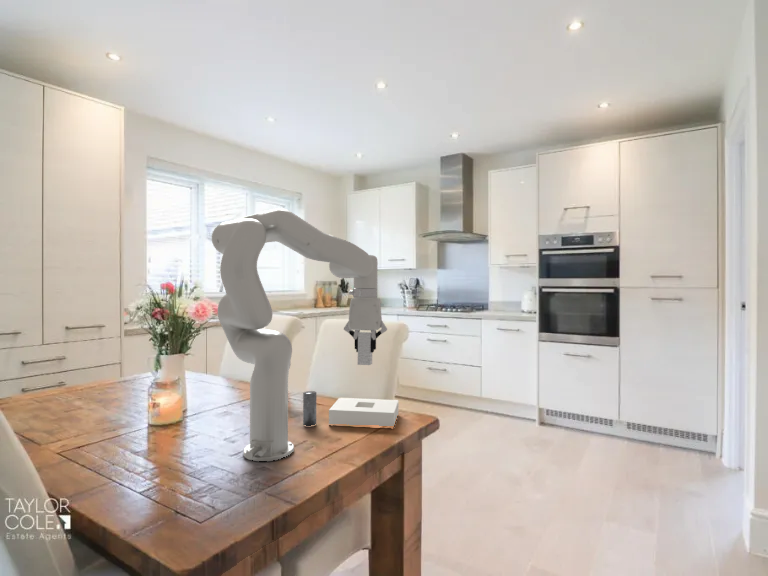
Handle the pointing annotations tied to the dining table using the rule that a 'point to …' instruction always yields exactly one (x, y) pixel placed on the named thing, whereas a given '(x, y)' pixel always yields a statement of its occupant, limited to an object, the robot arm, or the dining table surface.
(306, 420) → the round peg
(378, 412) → the block
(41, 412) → the dining table surface
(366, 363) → the square peg
